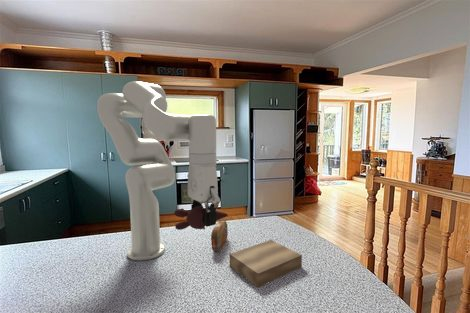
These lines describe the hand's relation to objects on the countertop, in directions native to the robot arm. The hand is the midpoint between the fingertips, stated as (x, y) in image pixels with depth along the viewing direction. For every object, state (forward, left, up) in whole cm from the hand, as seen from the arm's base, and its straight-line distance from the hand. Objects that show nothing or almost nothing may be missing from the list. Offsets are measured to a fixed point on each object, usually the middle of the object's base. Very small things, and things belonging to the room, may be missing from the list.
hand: (203, 220), depth 72 cm
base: (+5, +19, -17) cm, 26 cm away
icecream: (0, -1, -2) cm, 2 cm away
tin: (-16, +15, -18) cm, 28 cm away
